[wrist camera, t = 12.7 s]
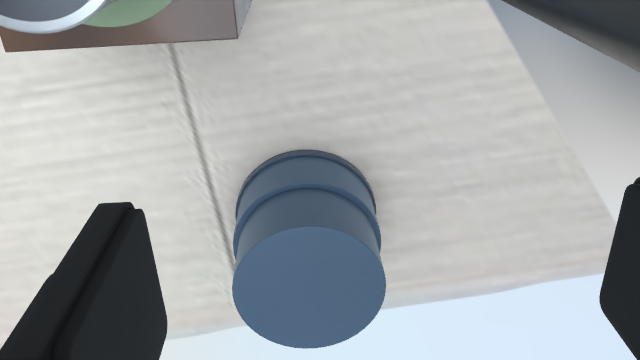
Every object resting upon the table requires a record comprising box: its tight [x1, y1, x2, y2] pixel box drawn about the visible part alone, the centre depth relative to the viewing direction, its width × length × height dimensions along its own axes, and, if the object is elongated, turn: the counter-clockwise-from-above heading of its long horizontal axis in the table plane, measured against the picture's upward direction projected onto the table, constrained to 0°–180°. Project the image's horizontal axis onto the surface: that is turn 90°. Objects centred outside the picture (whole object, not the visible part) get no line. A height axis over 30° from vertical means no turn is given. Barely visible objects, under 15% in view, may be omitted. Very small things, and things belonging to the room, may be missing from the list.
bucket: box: [232, 150, 386, 348], centre depth 40 cm, size 11×11×10 cm
